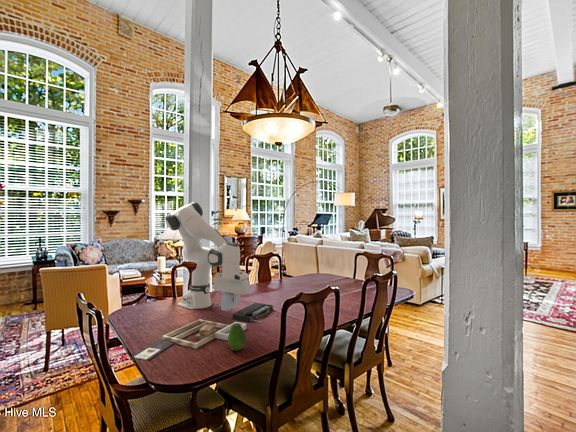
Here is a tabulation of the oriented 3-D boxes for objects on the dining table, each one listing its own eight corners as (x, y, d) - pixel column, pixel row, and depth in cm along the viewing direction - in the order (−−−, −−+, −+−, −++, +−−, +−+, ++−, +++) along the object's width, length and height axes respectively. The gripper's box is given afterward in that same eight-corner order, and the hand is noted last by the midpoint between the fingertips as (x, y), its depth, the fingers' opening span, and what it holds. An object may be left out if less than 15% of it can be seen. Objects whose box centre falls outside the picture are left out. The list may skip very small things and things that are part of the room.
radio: (255, 300, 201) (282, 305, 192) (255, 307, 201) (282, 311, 192) (232, 311, 178) (261, 317, 170) (231, 319, 179) (261, 325, 170)
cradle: (215, 337, 151) (215, 332, 151) (235, 326, 166) (235, 321, 166) (226, 340, 148) (226, 335, 148) (246, 328, 163) (246, 323, 163)
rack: (162, 340, 148) (162, 335, 148) (199, 322, 171) (199, 319, 171) (195, 348, 139) (195, 344, 139) (230, 329, 162) (230, 325, 162)
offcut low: (195, 340, 149) (195, 335, 149) (208, 333, 158) (208, 328, 158) (203, 342, 147) (203, 337, 147) (216, 334, 156) (216, 329, 156)
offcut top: (199, 334, 149) (199, 329, 149) (205, 329, 156) (205, 324, 156) (208, 335, 149) (208, 330, 149) (214, 330, 156) (214, 325, 155)
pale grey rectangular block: (221, 310, 152) (221, 295, 152) (235, 303, 163) (235, 290, 163) (226, 311, 150) (226, 296, 150) (240, 304, 161) (240, 291, 161)
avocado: (224, 351, 136) (224, 324, 136) (236, 344, 143) (236, 319, 143) (237, 356, 132) (237, 328, 132) (249, 349, 138) (249, 322, 138)
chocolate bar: (175, 341, 145) (149, 359, 127) (175, 343, 145) (149, 361, 127) (159, 339, 147) (131, 356, 130) (159, 341, 147) (131, 358, 130)
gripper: (211, 273, 158) (210, 300, 158) (244, 277, 149) (244, 305, 149) (218, 271, 164) (218, 297, 164) (251, 275, 155) (251, 302, 155)
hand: (231, 301), depth 157 cm, fingers closed on pale grey rectangular block, 3 cm apart
